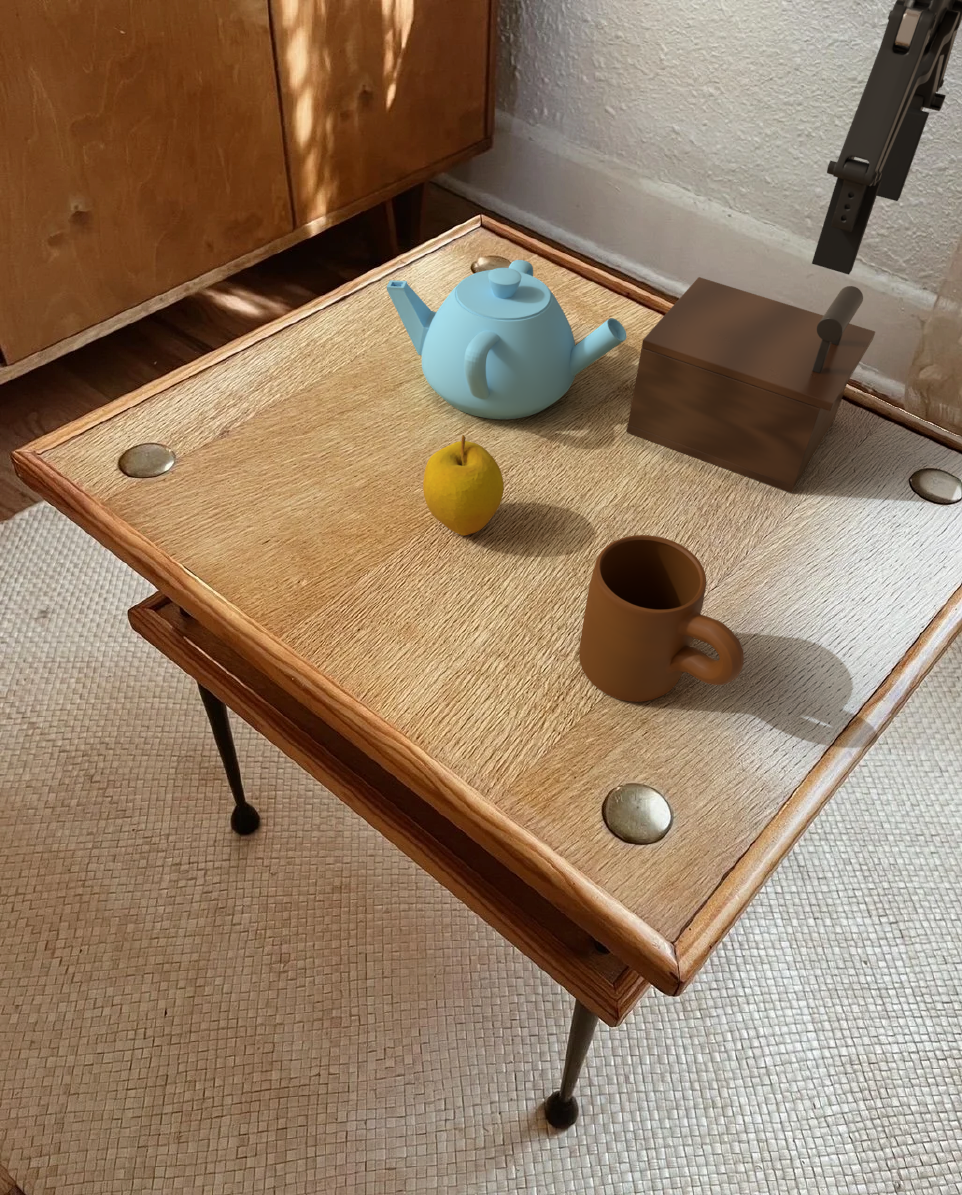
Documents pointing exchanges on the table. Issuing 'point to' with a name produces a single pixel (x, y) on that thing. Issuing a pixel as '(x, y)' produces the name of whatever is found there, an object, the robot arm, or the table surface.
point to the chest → (726, 420)
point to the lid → (765, 340)
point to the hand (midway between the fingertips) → (857, 229)
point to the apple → (463, 486)
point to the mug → (651, 622)
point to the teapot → (499, 342)
